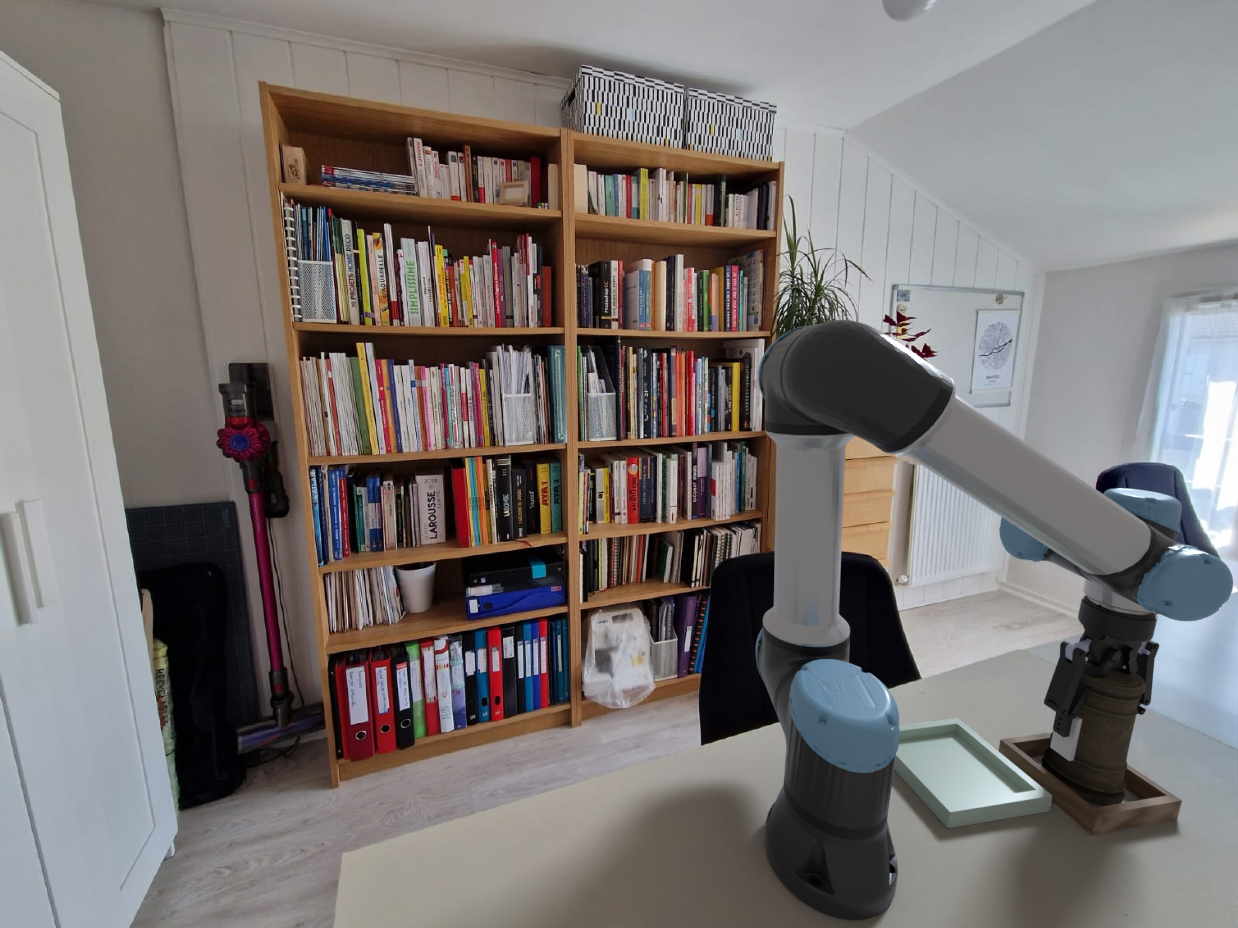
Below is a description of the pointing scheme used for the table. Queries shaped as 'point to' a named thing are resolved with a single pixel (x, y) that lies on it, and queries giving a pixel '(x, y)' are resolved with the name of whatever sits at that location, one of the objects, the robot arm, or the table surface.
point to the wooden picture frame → (1095, 820)
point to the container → (1101, 739)
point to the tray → (964, 775)
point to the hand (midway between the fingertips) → (1086, 750)
